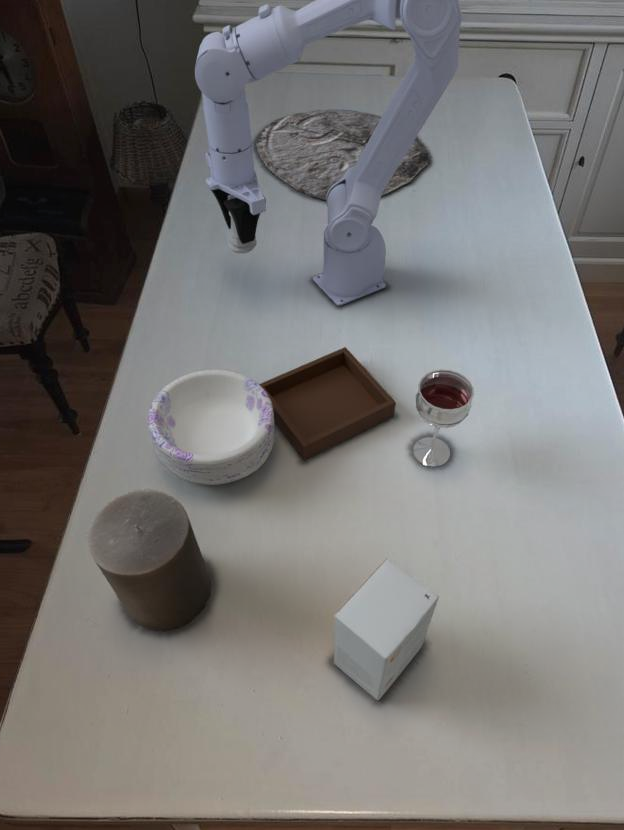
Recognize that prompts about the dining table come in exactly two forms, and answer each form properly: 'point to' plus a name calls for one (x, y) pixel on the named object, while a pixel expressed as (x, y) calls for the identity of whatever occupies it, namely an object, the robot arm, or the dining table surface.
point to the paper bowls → (212, 426)
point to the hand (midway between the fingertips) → (241, 234)
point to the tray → (327, 402)
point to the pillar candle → (151, 559)
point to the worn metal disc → (327, 150)
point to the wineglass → (441, 411)
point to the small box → (382, 627)
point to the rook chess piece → (234, 239)
